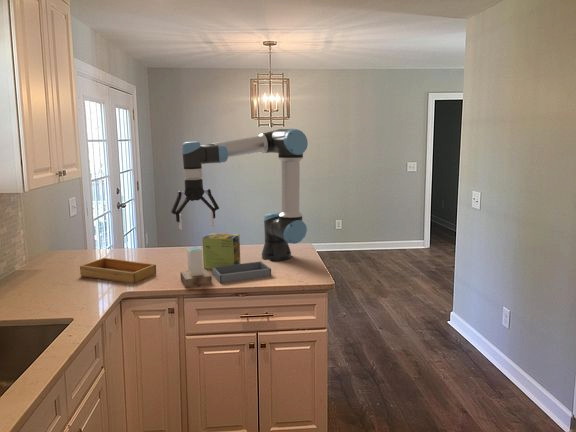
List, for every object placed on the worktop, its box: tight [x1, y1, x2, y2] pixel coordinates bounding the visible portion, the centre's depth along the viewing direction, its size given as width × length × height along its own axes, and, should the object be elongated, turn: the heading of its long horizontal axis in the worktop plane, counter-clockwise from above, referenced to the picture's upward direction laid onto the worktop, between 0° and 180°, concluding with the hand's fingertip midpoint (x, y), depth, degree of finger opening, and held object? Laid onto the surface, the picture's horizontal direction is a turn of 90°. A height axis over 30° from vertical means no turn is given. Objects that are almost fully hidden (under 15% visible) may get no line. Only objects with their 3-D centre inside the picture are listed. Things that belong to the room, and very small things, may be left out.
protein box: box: [201, 233, 242, 270], centre depth 231 cm, size 10×15×16 cm
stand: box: [180, 268, 213, 289], centre depth 209 cm, size 11×12×4 cm
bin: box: [211, 261, 272, 284], centre depth 216 cm, size 23×14×4 cm, turn 112°
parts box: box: [186, 246, 204, 276], centre depth 208 cm, size 5×6×11 cm
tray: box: [79, 257, 157, 285], centre depth 221 cm, size 31×15×6 cm, turn 67°
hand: (196, 227), depth 209 cm, fingers open, 13 cm apart
